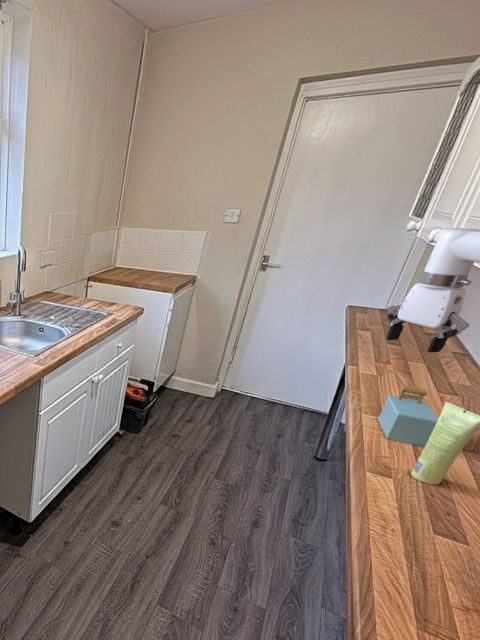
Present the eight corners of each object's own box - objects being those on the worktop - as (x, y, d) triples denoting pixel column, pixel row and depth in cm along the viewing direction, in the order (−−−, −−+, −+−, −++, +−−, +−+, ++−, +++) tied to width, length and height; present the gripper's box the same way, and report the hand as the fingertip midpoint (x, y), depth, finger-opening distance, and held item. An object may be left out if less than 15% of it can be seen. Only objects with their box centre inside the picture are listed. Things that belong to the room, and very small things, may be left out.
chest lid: (387, 397, 123) (394, 382, 121) (425, 404, 119) (433, 389, 117) (397, 416, 113) (405, 399, 111) (439, 424, 109) (448, 408, 107)
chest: (377, 420, 126) (387, 398, 123) (414, 428, 122) (425, 405, 119) (386, 439, 116) (397, 416, 113) (427, 449, 112) (439, 425, 109)
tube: (442, 480, 99) (483, 409, 91) (443, 490, 96) (486, 417, 88) (409, 470, 103) (446, 401, 95) (409, 479, 100) (447, 408, 92)
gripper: (499, 287, 95) (463, 356, 102) (414, 274, 111) (388, 334, 118) (473, 288, 94) (438, 358, 101) (391, 274, 110) (366, 335, 116)
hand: (411, 345), depth 109 cm, fingers open, 9 cm apart
